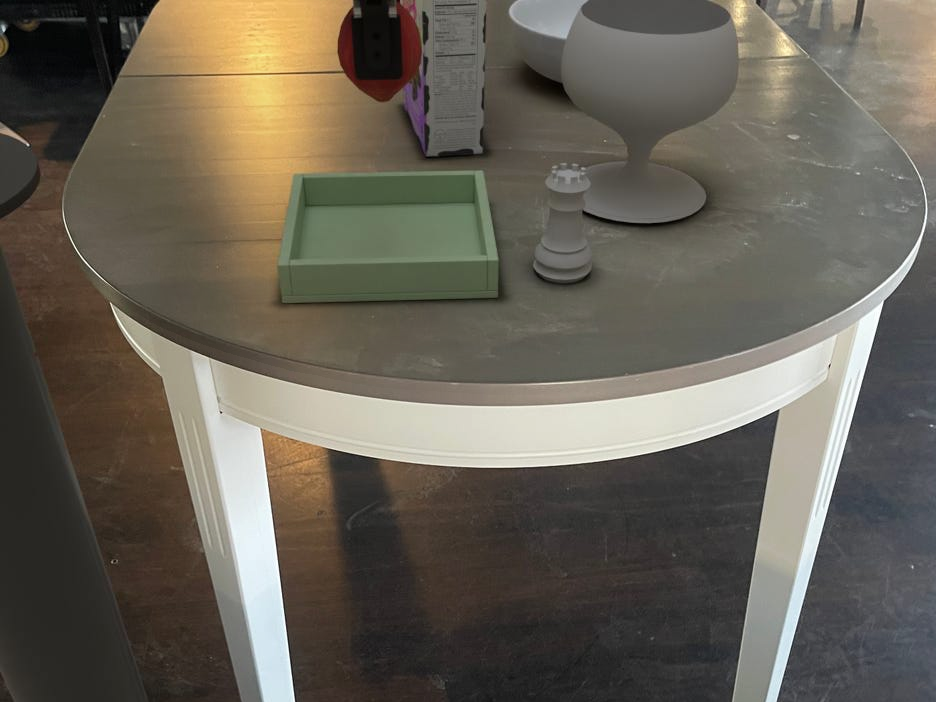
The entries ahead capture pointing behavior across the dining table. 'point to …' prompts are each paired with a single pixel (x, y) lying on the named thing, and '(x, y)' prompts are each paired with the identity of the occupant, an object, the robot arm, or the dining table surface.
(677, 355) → the dining table surface
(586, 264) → the rook chess piece
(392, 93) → the onion
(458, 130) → the candy box
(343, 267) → the tray
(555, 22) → the serving bowl
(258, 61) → the dining table surface
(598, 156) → the dining table surface
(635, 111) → the chalice
